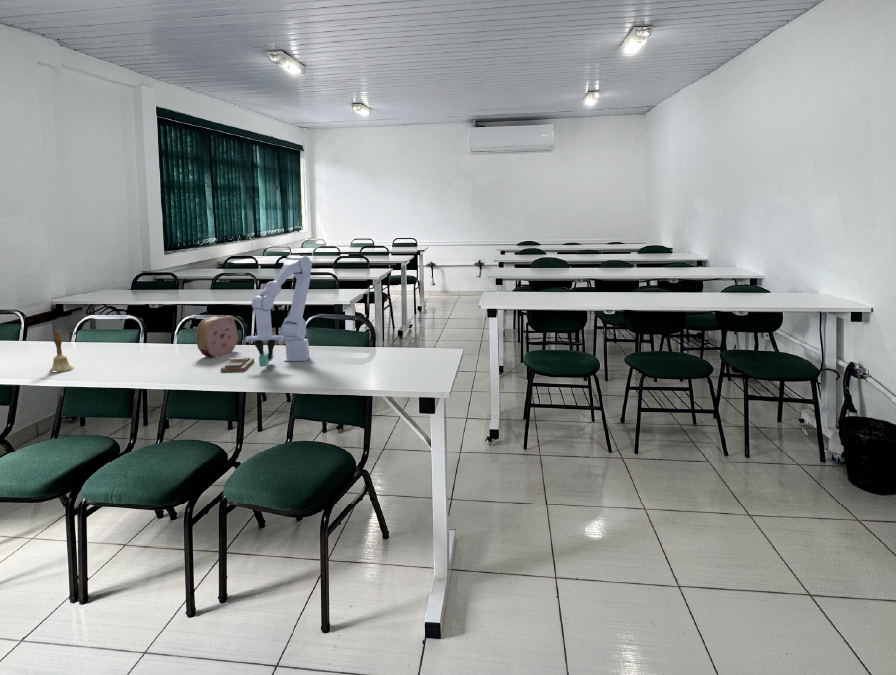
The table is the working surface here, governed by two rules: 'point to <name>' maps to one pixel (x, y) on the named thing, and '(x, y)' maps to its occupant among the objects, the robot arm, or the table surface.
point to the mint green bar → (264, 358)
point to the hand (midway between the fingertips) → (266, 358)
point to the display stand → (237, 364)
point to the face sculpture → (216, 335)
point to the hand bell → (59, 356)
